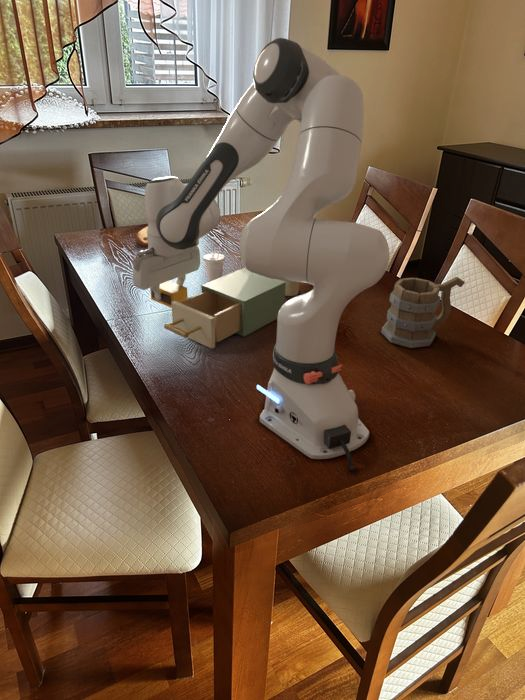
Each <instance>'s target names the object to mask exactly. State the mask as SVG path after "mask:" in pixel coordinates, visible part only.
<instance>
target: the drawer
mask: <svg viewBox="0 0 525 700" xmlns="http://www.w3.org/2000/svg"><path fill="white" fill-rule="evenodd" d="M181 302H182V304H181V303H178V302H176V301H174V302H171V305H172V308H171V319H172V320H171V321H172V322H170V323H168V322H166V323H164V325H163V327H164V329H165V330H167V331H170V332H171V333H174V334H176V335H178V336H180V337H182V338H184V339H187V338H188V339H190V340H192V341H194V342H196V343H198V344H201V345H203V346H205V347H207V348H209V349H214V348H216V343H219V342H221V341H223V340H225V339H227V338H228V337H230V336H232V335H234V334H237V333H236V332H238V331H240V330H241V326H242V304H241V303H238V302H236V301H233V300H231V299H228V298H225V297H223V296H220V295H218V294H215V293H212V292H210V291H207V290H206V291H204V292H202V291H201V292H200V293H197V294H195V295H192V296H189V297H188V298H187V299H185V300H183V301H181Z"/></svg>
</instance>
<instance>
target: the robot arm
mask: <svg viewBox="0 0 525 700" xmlns="http://www.w3.org/2000/svg"><path fill="white" fill-rule="evenodd" d="M252 80H253V82H252V83H251V84H250V86H249V87H248V88H247V90H246V91H245V93H243V95H242V97H240V99H239V102H237V104H236V106H235V107H234V109H233V110H232V112H231V114H230V116H229V118H228V119H227V121H226V123H225V124H224V126H223V128H222V130H221V131H220V134H219V136H218V137H217V139H216V140H215V142H214V143H213V146H212V147H211V149H210V151H209V152H208V154H207V156H206V157H205V159H204V160H203V161H202V163H201V164H200V166H199V167H198V169H197V170H196V171H195V173H194V174H193V176H192V177H191V178H190V180H189V181H188V183H187V184H184V183H183V182H182V181H181V180H180V178H178V177H177V176H174V175H165V176H164V175H163V176H159V177H156V178H152V179H150V180H149V181H148V182H147V183H146V185H145V188H144V214H145V218H146V220H147V221H146V222H147V226H148V228H147V238H148V247H147V249H144V250H139V251H138V252H137V253H136V255H134V257H133V258H132V284H133V286H135V287H136V288H137V289H140V290H142V291H145V290H148V289H150V288H151V289H152V290H153V292H154V294H155V299H157V300H160V299H163V292H160V291H159V289H158V288H160V284H162V283H164V282H167V281H172V280H176V279H177V280H176V282H175V283H176V284H179V285H181V286H184V283H185V281H186V277H187V275H188V274H191V273H193V272H196V271H198V270H199V269H200V266H201V252H200V249H199V245H200V244H199V243H200V239H202V238H203V237H204V236H206V235H207V234H209V233H210V232H212V231H213V230H214V229H216V228H217V227H218V225H219V224H220V220H221V209H220V206H219V204H218V202H217V201H216V198H217V196H218V195H219V194H220V192H222V190H223V188H224V187H226V185H227V184H229V183H230V182H231V181H233V180H234V179H235V178H236V177H239V175H241V174H243V173H244V172H247V170H249V169H251V168H253V167H255V166H256V165H257V164H259V163H260V162H261V161H262V160H264V159H265V157H266V156H267V155H268V154H269V153H270V152H271V151H272V150H273V149H274V147H275V146H276V145H277V143H278V142H279V141H280V139H281V137H282V136H283V134H284V133H285V131H286V130H287V128H288V126H289V125H290V124H291V123H292V122H293V121H296V122H299V123H300V125H299V130H298V137H297V141H296V149H295V153H294V159H293V164H292V167H291V172H290V176H289V179H288V181H287V183H286V186H285V187H284V189H283V191H282V192H281V194H280V195H279V197H278V198H277V199H276V200H275V201H274V202H273V203H272V204H271V205H270V206H269V207H268V208H267V209H266V210H265V211H263V212H262V213H260V214H258V215H257V216H255V217H253V218H251V220H249V221H248V223H246V225H245V226H244V228H243V230H242V232H241V234H240V237H239V241H238V251H239V257H240V259H241V260H240V261H241V262H242V264H243V266H244V268H246V269H247V270H248V271H250V272H253V273H256V274H259V275H262V276H265V277H268V278H271V279H278V280H287V281H295V282H299V283H304V284H305V283H306V284H309V285H311V286H312V287H313V288H312V289H311V290H310V291H308V292H306V293H302V294H299V295H296V296H293V297H292V298H290V299H288V300H287V301H285V304H284V305H283V306H282V307H281V309H280V310H279V313H278V318H277V319H276V321H277V323H276V341H275V343H274V347H273V350H272V351H273V352H272V365H273V370H272V373H271V376H270V378H269V380H268V383H267V389H265V388H263V387H262V386H261V385H259V384H257V385H256V389H257V390H258V391H259V392H261V393H262V394H264V395H265V402H264V409H263V410H262V412H261V413H260V415H259V418H258V419H259V423H261V424H262V425H263V426H265V427H266V428H267V429H269V430H270V431H272V432H273V433H274V434H276V435H277V436H278V437H280V438H281V439H282V440H284V441H285V442H287V443H288V444H290V445H291V446H293V447H294V448H295V449H297V450H298V451H299V452H301V453H302V454H303V455H305V456H306V457H308V458H310V459H311V460H327V459H333V458H336V457H340V456H343V455H346V458H347V459H346V460H347V466H348V469H349V470H350V471H351V472H355V471H356V468H355V467H354V465H353V457H352V454H351V452H353V451H355V450H357V449H358V448H360V447H362V446H363V445H364V444H366V442H367V441H368V440H369V437H370V430H369V429H368V428H367V427H366V426H365V424H364V423H363V422H362V421H361V419H360V418H359V408H358V405H357V404H356V393H355V391H354V389H348V387H347V385H346V384H345V381H344V380H343V378H342V376H341V375H340V373H339V372H340V371H342V370H343V369H342V367H343V364H339V362H338V355H337V350H336V347H335V345H336V340H337V339H336V338H337V332H338V329H339V324H340V320H341V316H342V314H343V313H344V310H345V309H346V308H347V306H348V305H349V303H350V302H351V301H352V300H353V299H354V298H355V297H356V296H357V295H359V294H360V293H362V292H364V291H365V290H367V289H369V288H371V287H374V286H375V285H376V284H377V283H378V282H379V281H380V280H381V279H382V277H383V276H384V275H385V273H386V271H387V269H388V267H389V262H390V257H391V256H390V246H389V243H388V240H387V239H386V236H385V235H384V233H383V232H382V231H381V230H380V229H376V228H373V227H370V226H368V225H364V224H361V223H357V222H352V221H342V220H332V219H323V218H317V217H316V216H317V215H318V213H320V212H321V211H322V210H323V209H325V208H326V207H329V206H330V205H333V204H336V203H338V202H340V201H342V200H344V199H345V198H347V197H348V196H349V195H350V194H351V193H352V191H353V190H354V188H355V187H356V183H357V176H358V171H359V162H360V156H361V149H362V143H363V133H364V121H365V120H364V119H365V118H364V113H365V111H364V106H365V105H364V95H363V91H362V88H361V87H360V86H359V84H358V83H357V82H356V81H355V80H353V79H352V78H350V77H349V76H345V75H341V74H340V73H339V72H338V70H336V69H335V68H333V67H332V66H331V65H330V64H328V63H327V61H326V60H324V59H323V58H321V57H320V56H318V55H317V54H315V53H313V52H311V50H310V51H309V50H308V49H305V48H303V47H301V45H300V44H299V43H298V42H296V41H293V40H291V39H288V38H285V37H278V38H275V39H273V40H271V41H270V42H269V43H267V44H266V45H264V48H262V49H261V51H260V53H259V54H258V57H257V59H256V61H255V63H254V67H253V72H252Z"/></svg>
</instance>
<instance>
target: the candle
mask: <svg viewBox="0 0 525 700" xmlns="http://www.w3.org/2000/svg"><path fill="white" fill-rule="evenodd" d="M281 281H284V282H286V287H285V297H296V296H298V294H299V290H300V282H295V281H287V280H281Z"/></svg>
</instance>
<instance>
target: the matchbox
mask: <svg viewBox="0 0 525 700" xmlns="http://www.w3.org/2000/svg"><path fill="white" fill-rule="evenodd" d="M176 283H177V282H174V281H172V280H170V281H167V282H164V283H162V284H160V288H158V289H159V291H160V292H163V299H160V300H157V299H155V294H154V292H153V290H152V289H151V288H149V289H150V299H151V300H152V301H154V302H156V303H159V304H161V305H164V306H167V307H168V308H171V309H172V305H171V302H174V301H176V302H178V303H181V304H182V302H181V301H183V300H185V299H187V298H189V297H188V287H187V286H184V285H183V286H181V285H179V284H176Z"/></svg>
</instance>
